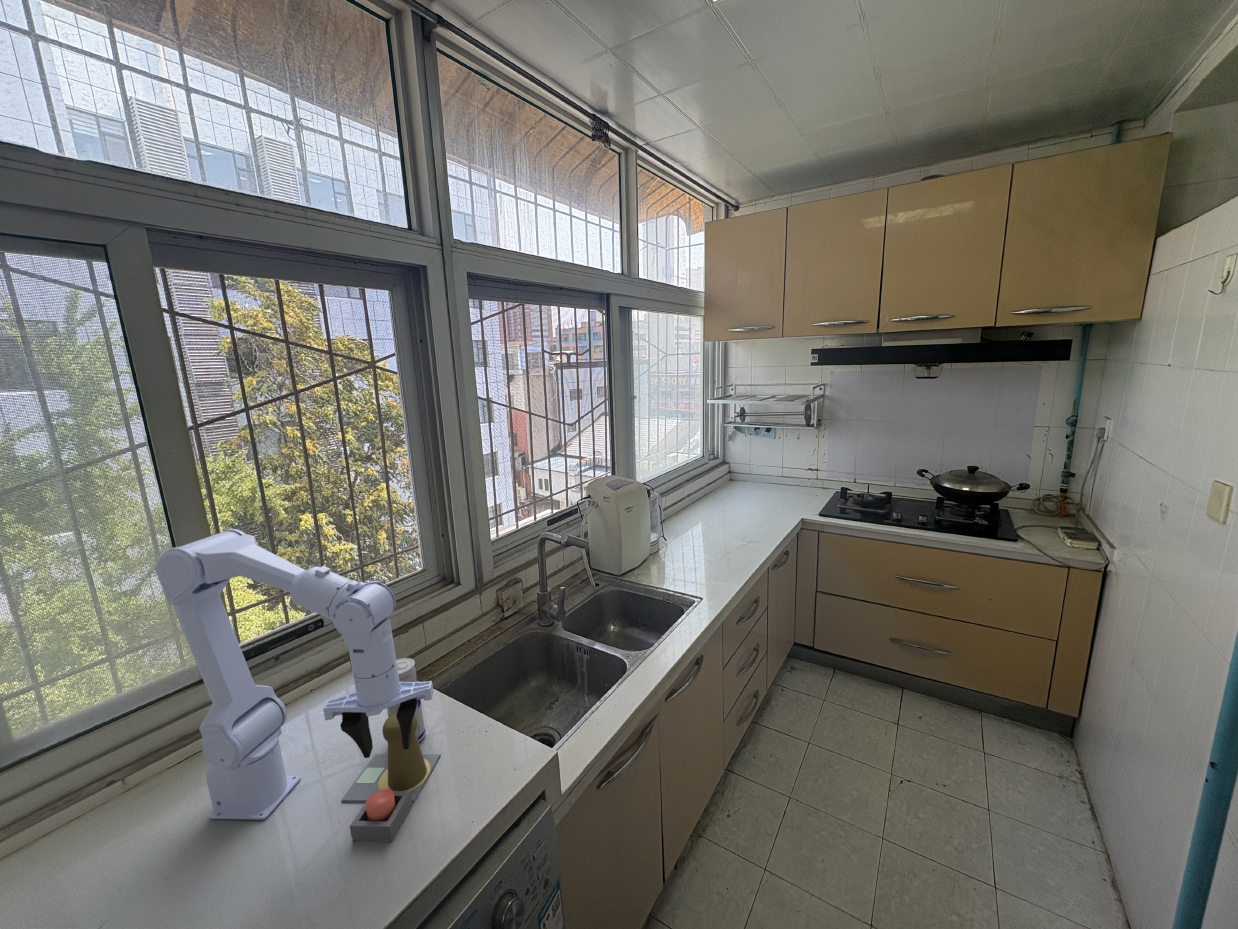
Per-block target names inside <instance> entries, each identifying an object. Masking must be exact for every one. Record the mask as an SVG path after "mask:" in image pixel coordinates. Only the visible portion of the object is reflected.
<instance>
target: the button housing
mask: <svg viewBox="0 0 1238 929" xmlns="http://www.w3.org/2000/svg"><path fill="white" fill-rule="evenodd" d="M376 792H378V791H373V792H372V794H371V795H373V794H374V793H376ZM393 793H394V799H395V805H396V808H395V809H394V811H393V813H392V814H391V816H390V818H389V819H388V821H368V818H367V812H366V806H365V805H366V802H367V801H366V802H364V803H363V806H362V807H361V808H360V810H359V811H358V813H357V814H356V816H355V817H354V819H352V822H351V823H350V825H349V831H350V834H351V835H350V836H351V841H352V842H370V843H371V842H372V843H373V842H375V843H378V842H379V843H380V842H382V843H384V842H385V843H393V841H394V839H395V838H396V836H397V834H398V832H399V830H400V829H401V827H402V826H403V824H404V822H405V820H406V818H407V816H408V815H409V813H410V811H411V809H413V808H412V807H413V803H412V798H411V792H410V791H393ZM371 795H370V796H371Z"/></svg>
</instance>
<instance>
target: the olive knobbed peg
mask: <svg viewBox="0 0 1238 929" xmlns="http://www.w3.org/2000/svg"><path fill="white" fill-rule="evenodd" d="M396 715H397V713H395V714H393V715H391V716H390V717H387V719H386V720H385V721H384V722H383V725H382V736H383V739H384V741H385V742H387V754H388V787H389V788H390V789H391V790H393V791H405V790H409V789H411V788H413V787H415V786H416V785H418V784H419V783H420V782H421V781H422V780H423V779H424V777H425V776H426V773H427V768H426V765H425V761H424V758H423V755H422V754H423V752H422V748H421V746H420V742H419V743H418V740H417V736H416V733H415V731H416V729H417V718H416V716H415V715H414V717H413V721H412V728H411V743H410V747H409V749H406V750H404V748H403V743H402V733H401V728H400V725H399V722H398V719H397V716H396Z"/></svg>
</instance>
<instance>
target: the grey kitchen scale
mask: <svg viewBox="0 0 1238 929" xmlns="http://www.w3.org/2000/svg"><path fill="white" fill-rule="evenodd" d="M422 755H423V758H424V761H425V765H426V768H427V773H426V776H425V777H424V779H423V780H422V781H421V782H420V783H419V784H418V785H416V786H415V787H413V788H411V789H409V790H405V791H410V792H411V798H412V804H414V803H416V801H417V798H418V797H419V796H420V794H421V792H422V790H423V789H424V787H425V784H426V783H427V781H428V779H429V778H430V776H431V775H432V772H433V770H434V768H435V767H436V766H437V764H438V762H439V759H440V758H441V754H439V753H438V754H435V753H434V754H429V753H428V754H425V753H422ZM383 789H389V790H391V789H390V788H389V787H388V753H381V754H380V753H377V754H374V755H373V756H372V758H371V759H370V760H369V762H368V763H367V764H366V765H365V767H364V768H363V769H362V771H361V773H360V774H359V775H358V777H357V778H356V779H355V781H354V782H353V783H352V785H351V786H350V787H349V789H348V790H347V791H346V793H345V794H344V796H343V797H342V798H341V801H340V802H341V803H366V801H367V800H368V798H369V797H370V795H371V794H372V792H373V791H380V790H383ZM392 791H393V790H392Z"/></svg>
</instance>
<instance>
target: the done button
mask: <svg viewBox="0 0 1238 929" xmlns="http://www.w3.org/2000/svg"><path fill="white" fill-rule="evenodd" d="M365 803H366V805H365V806H366V812H367V818H368V821H388V819H389V818H390V816H391V814H392V813H393V811H394V809H395V808H396V805H395V799H394V793H393V791H392V790H389V789H383V790H380V791H378V792H376V793H374V794H373V795H371V796H370V797H369V798H368V800H367V802H365Z"/></svg>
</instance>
